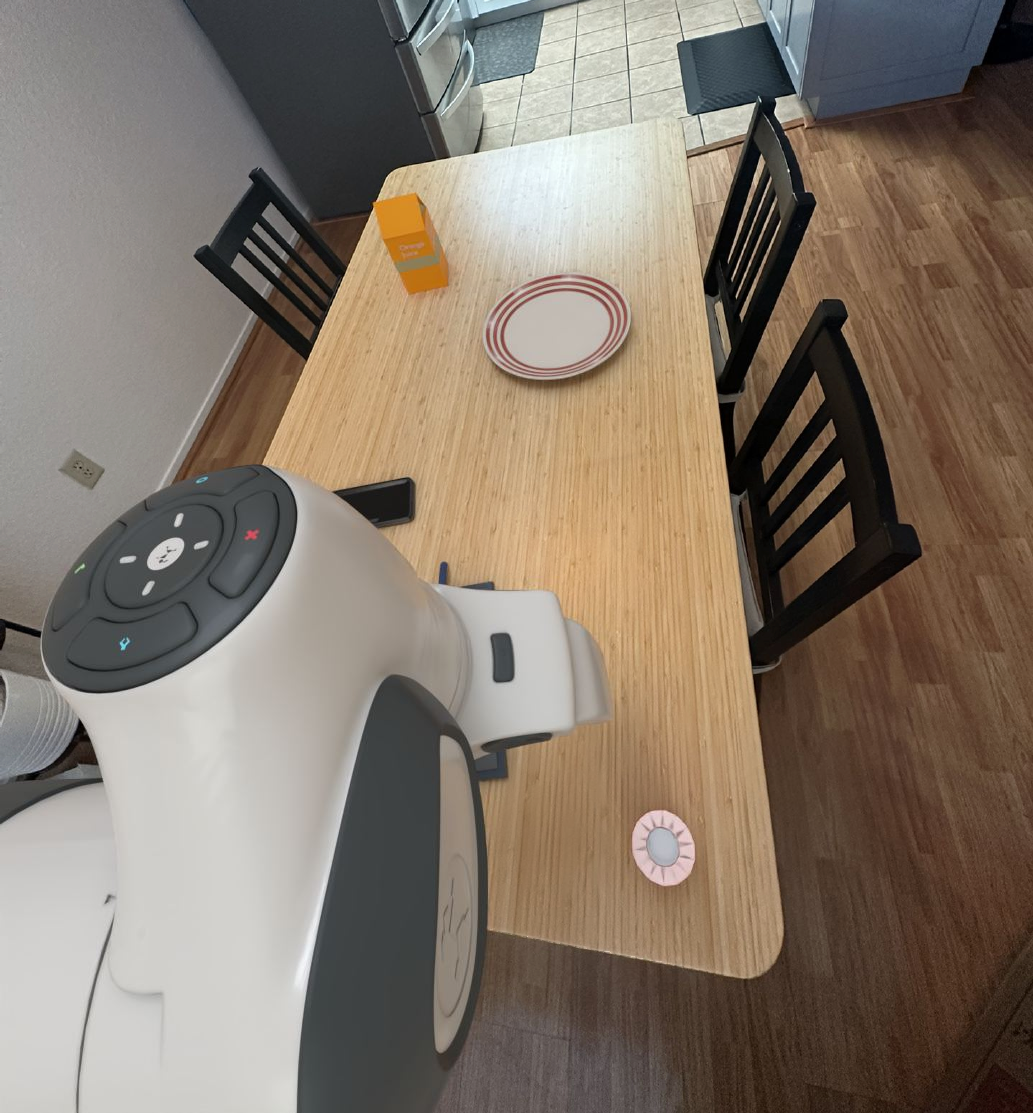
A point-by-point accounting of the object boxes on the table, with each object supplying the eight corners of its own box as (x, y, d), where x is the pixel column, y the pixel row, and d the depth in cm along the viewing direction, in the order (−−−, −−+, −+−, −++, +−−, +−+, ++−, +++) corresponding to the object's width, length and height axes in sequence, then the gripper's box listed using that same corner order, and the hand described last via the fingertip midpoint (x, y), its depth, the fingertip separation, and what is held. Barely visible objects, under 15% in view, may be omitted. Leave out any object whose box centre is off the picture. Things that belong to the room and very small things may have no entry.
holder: (696, 874, 61) (703, 882, 50) (642, 879, 61) (637, 889, 51) (682, 810, 64) (686, 805, 54) (631, 816, 65) (624, 813, 54)
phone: (327, 492, 97) (412, 475, 95) (330, 495, 98) (415, 479, 96) (322, 535, 92) (412, 518, 91) (325, 538, 93) (414, 522, 92)
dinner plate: (472, 309, 117) (468, 297, 114) (601, 265, 117) (600, 252, 114) (505, 411, 101) (500, 399, 98) (655, 360, 100) (655, 347, 98)
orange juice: (410, 271, 128) (373, 191, 112) (448, 262, 127) (417, 180, 111) (408, 295, 124) (370, 215, 108) (448, 286, 123) (415, 204, 107)
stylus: (429, 694, 74) (442, 559, 84) (425, 695, 75) (439, 562, 85) (437, 695, 75) (449, 561, 85) (433, 696, 75) (446, 563, 86)
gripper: (177, 783, 27) (318, 798, 38) (609, 724, 25) (626, 758, 36) (207, 646, 31) (327, 695, 42) (585, 583, 29) (607, 653, 40)
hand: (467, 724), depth 39 cm, fingers open, 8 cm apart
